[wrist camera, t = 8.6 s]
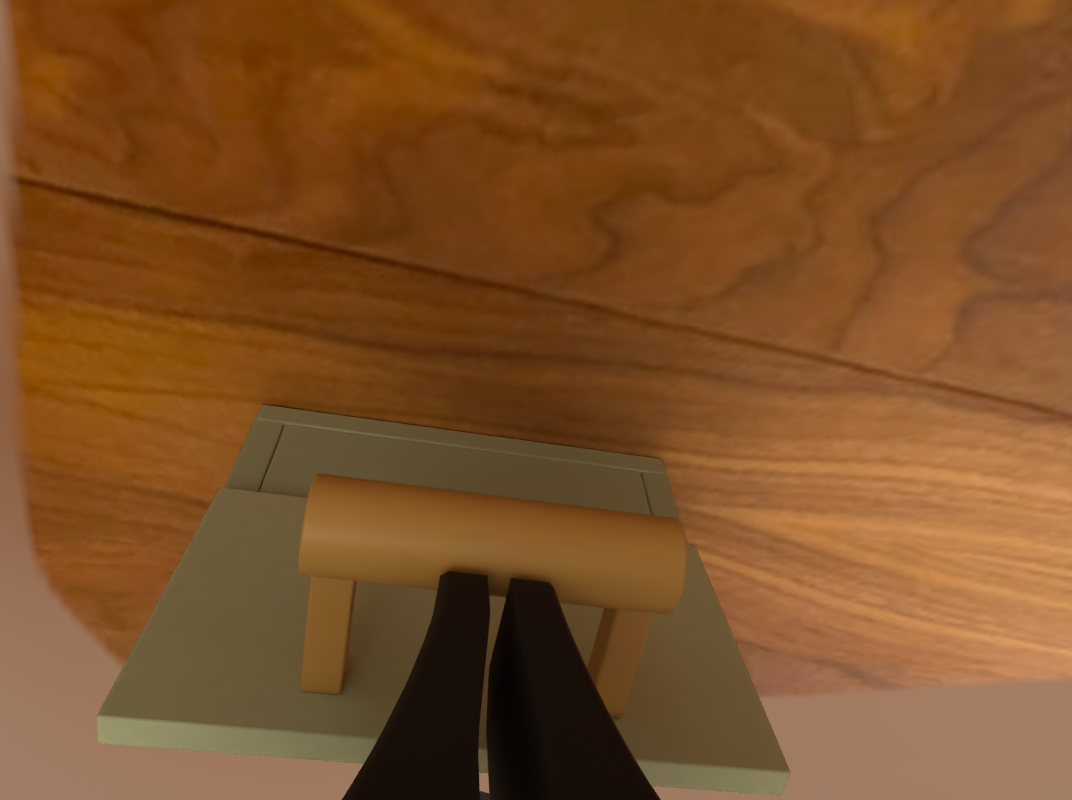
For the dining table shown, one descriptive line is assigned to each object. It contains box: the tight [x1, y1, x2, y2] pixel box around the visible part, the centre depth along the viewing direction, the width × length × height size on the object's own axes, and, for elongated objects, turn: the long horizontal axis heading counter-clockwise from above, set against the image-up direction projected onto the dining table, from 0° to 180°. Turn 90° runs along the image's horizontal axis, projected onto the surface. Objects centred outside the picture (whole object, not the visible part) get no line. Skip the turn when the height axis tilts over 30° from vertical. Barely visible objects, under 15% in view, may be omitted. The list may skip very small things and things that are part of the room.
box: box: [224, 405, 688, 544], centre depth 23 cm, size 6×12×4 cm, turn 79°
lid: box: [97, 473, 790, 796], centre depth 16 cm, size 7×12×5 cm
